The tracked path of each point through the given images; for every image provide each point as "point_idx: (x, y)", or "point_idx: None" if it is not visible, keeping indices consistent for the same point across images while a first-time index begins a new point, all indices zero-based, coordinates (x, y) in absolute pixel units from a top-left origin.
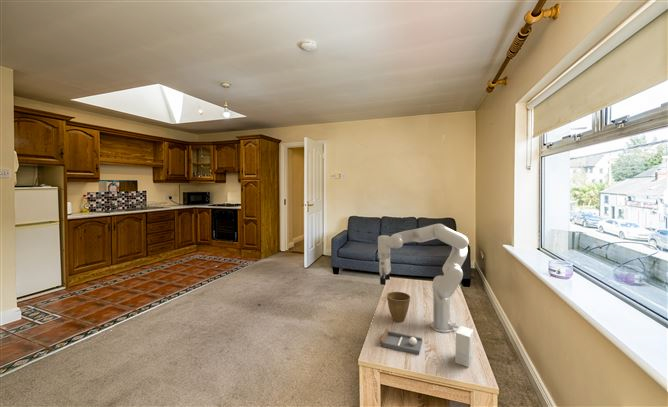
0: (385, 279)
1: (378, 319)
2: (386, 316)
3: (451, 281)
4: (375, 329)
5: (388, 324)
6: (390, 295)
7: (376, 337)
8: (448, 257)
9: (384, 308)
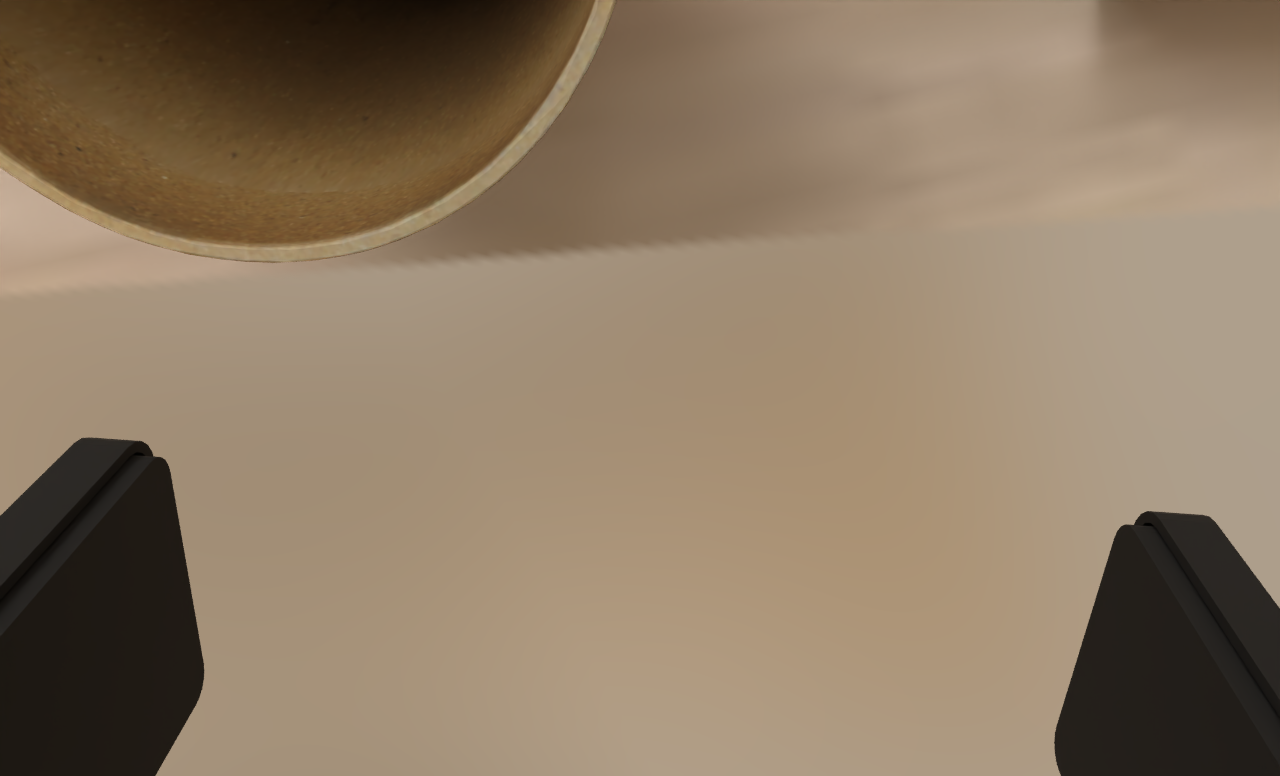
0: (187, 645)
1: (574, 240)
2: None
3: None
4: (960, 207)
5: (699, 15)
6: (116, 159)
7: (1239, 126)
8: None
9: (82, 232)
